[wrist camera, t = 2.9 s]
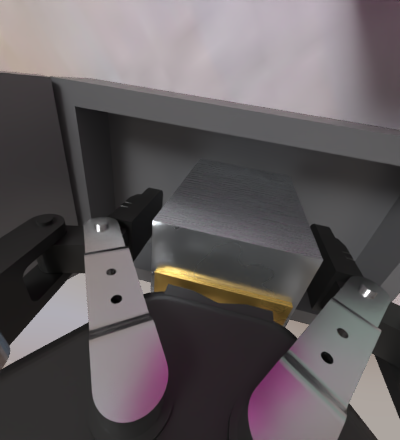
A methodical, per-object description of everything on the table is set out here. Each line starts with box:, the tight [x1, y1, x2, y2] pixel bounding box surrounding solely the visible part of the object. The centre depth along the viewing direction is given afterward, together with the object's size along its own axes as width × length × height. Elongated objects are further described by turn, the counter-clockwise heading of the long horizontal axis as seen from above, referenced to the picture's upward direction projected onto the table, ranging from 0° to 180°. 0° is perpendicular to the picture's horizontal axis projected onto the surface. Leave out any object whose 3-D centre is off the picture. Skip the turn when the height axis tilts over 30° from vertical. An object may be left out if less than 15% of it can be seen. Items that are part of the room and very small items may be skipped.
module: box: [151, 159, 323, 327], centre depth 11 cm, size 5×5×7 cm
